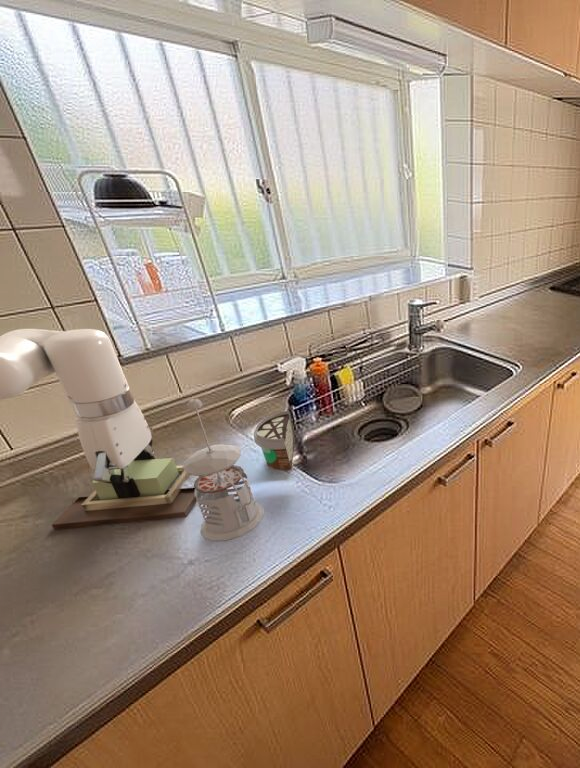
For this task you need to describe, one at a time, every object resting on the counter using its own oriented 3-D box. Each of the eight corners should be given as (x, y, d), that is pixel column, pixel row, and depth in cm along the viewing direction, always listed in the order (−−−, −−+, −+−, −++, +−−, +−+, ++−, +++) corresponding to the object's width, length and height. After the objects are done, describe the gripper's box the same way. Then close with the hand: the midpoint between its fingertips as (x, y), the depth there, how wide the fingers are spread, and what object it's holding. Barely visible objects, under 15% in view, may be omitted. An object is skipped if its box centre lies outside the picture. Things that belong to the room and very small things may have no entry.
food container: (266, 450, 94) (256, 412, 90) (297, 446, 96) (288, 409, 92) (258, 486, 84) (247, 445, 79) (292, 480, 86) (283, 440, 82)
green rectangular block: (100, 500, 76) (91, 482, 74) (120, 478, 81) (112, 461, 79) (163, 494, 78) (156, 477, 76) (179, 474, 83) (172, 457, 81)
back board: (54, 529, 72) (47, 518, 71) (109, 473, 85) (104, 463, 84) (186, 516, 76) (181, 505, 75) (219, 465, 89) (216, 455, 88)
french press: (242, 493, 82) (207, 379, 70) (282, 516, 77) (251, 398, 66) (188, 526, 74) (138, 404, 63) (229, 553, 69) (183, 427, 58)
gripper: (110, 380, 78) (143, 458, 86) (37, 431, 63) (85, 520, 71) (156, 378, 79) (184, 455, 88) (96, 428, 64) (137, 515, 73)
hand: (140, 484), depth 79 cm, fingers closed on green rectangular block, 6 cm apart
